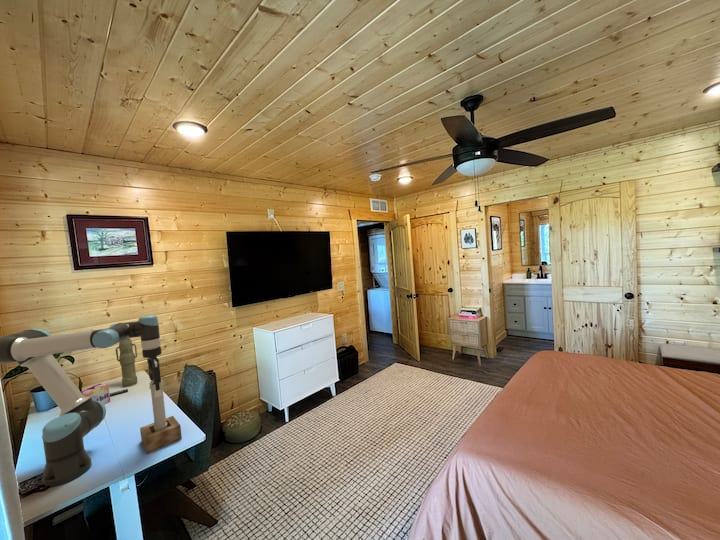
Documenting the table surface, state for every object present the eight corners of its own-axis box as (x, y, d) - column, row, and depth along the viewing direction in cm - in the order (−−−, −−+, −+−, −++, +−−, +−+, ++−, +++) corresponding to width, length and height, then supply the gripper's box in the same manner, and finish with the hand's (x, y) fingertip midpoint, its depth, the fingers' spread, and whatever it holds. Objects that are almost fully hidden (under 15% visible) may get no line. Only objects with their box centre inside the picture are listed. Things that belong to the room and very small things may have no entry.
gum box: (103, 401, 199) (100, 382, 198) (112, 401, 198) (110, 382, 197) (65, 420, 177) (62, 399, 176) (76, 420, 175) (73, 399, 175)
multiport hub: (107, 397, 206) (107, 394, 206) (128, 391, 213) (127, 388, 213) (107, 399, 202) (107, 396, 202) (128, 393, 209) (127, 390, 209)
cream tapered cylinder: (161, 433, 144) (154, 372, 143) (150, 433, 146) (143, 372, 144) (170, 427, 150) (164, 367, 148) (160, 426, 151) (153, 367, 150)
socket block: (147, 453, 138) (145, 438, 138) (141, 441, 148) (140, 427, 148) (181, 438, 148) (180, 425, 147) (174, 428, 158) (172, 415, 157)
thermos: (119, 387, 221) (113, 340, 220) (139, 381, 229) (134, 336, 228) (120, 390, 215) (115, 342, 213) (141, 384, 223) (135, 338, 221)
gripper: (165, 348, 142) (170, 397, 143) (156, 342, 155) (161, 387, 156) (145, 353, 136) (151, 403, 137) (138, 346, 150) (143, 392, 151)
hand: (156, 394), depth 147 cm, fingers closed on cream tapered cylinder, 5 cm apart
